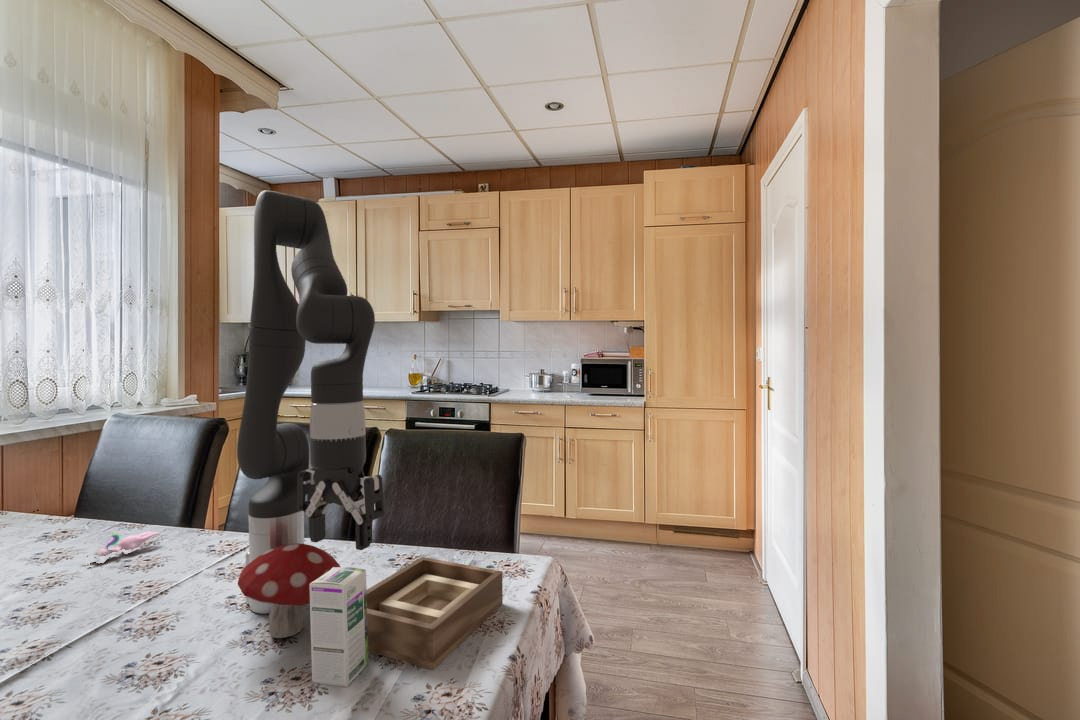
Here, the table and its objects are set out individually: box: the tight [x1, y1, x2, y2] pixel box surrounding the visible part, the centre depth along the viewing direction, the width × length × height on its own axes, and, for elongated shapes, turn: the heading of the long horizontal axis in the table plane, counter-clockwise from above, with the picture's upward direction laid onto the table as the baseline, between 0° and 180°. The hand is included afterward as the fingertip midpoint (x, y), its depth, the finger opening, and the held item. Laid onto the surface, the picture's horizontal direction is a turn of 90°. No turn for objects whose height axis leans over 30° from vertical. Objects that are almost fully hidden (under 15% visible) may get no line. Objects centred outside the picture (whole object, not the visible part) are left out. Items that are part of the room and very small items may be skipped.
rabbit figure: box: [86, 531, 162, 558], centre depth 121 cm, size 6×6×15 cm
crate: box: [366, 556, 503, 671], centre depth 91 cm, size 18×22×6 cm
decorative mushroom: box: [237, 543, 341, 639], centre depth 87 cm, size 16×16×15 cm
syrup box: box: [309, 566, 369, 688], centre depth 76 cm, size 6×6×14 cm
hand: (340, 544), depth 76 cm, fingers open, 8 cm apart
